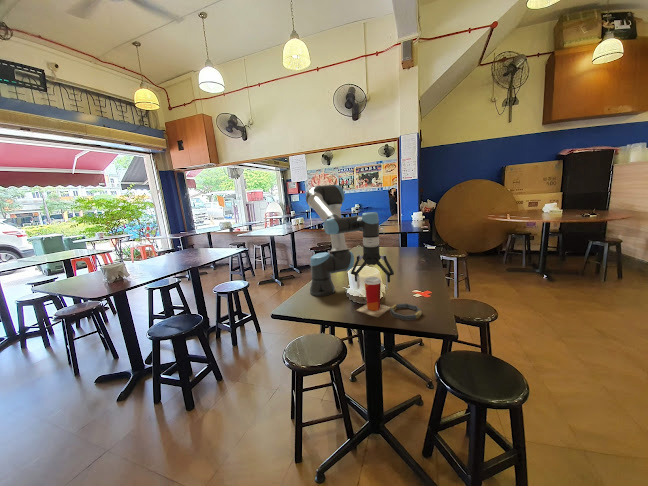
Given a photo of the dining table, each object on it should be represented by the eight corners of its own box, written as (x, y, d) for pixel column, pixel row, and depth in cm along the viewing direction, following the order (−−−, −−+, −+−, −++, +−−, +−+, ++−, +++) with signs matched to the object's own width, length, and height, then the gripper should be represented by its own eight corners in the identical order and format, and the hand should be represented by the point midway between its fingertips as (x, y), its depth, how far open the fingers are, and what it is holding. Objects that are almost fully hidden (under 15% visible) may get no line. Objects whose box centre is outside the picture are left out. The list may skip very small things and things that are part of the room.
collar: (385, 314, 117) (385, 310, 116) (399, 305, 126) (399, 301, 125) (412, 322, 108) (412, 318, 107) (425, 312, 117) (425, 307, 116)
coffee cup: (373, 303, 129) (372, 275, 126) (385, 308, 122) (384, 278, 119) (361, 308, 124) (360, 279, 121) (373, 313, 117) (372, 283, 115)
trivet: (356, 310, 123) (356, 309, 123) (370, 302, 131) (370, 301, 131) (377, 317, 115) (377, 316, 115) (391, 308, 123) (391, 307, 123)
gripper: (343, 247, 117) (345, 290, 121) (399, 246, 111) (399, 291, 115) (346, 244, 125) (348, 284, 128) (398, 243, 118) (398, 286, 122)
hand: (372, 288), depth 122 cm, fingers open, 13 cm apart
